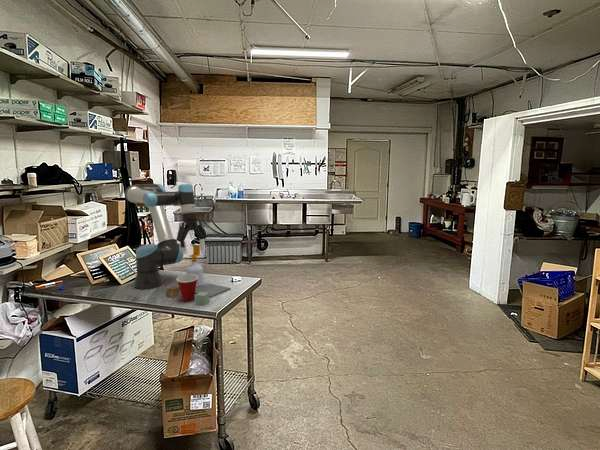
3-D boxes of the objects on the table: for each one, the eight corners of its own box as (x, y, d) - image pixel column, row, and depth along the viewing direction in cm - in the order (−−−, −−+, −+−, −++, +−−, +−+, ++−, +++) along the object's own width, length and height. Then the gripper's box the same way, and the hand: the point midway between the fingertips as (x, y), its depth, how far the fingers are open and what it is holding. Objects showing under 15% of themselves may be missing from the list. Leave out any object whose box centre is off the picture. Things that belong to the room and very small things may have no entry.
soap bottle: (184, 286, 213) (182, 244, 210) (192, 282, 222) (191, 241, 218) (197, 288, 210) (196, 245, 207) (206, 283, 219) (204, 242, 216)
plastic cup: (173, 303, 186) (172, 280, 185) (181, 296, 197) (180, 274, 195) (195, 303, 186) (194, 280, 184) (201, 296, 197) (201, 274, 195)
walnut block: (166, 296, 196) (165, 287, 195) (173, 294, 200) (173, 285, 200) (172, 298, 193) (172, 289, 193) (180, 295, 198) (179, 286, 197)
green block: (195, 304, 185) (195, 294, 184) (200, 301, 190) (200, 291, 189) (204, 305, 184) (204, 295, 183) (209, 302, 188) (209, 292, 188)
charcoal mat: (188, 292, 202) (188, 291, 202) (209, 285, 216) (209, 283, 216) (210, 297, 195) (210, 296, 194) (230, 289, 208) (230, 287, 208)
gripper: (176, 212, 185) (182, 254, 184) (210, 211, 207) (215, 249, 206) (165, 214, 188) (171, 255, 188) (200, 213, 210) (205, 250, 210)
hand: (194, 252), depth 197 cm, fingers open, 13 cm apart
